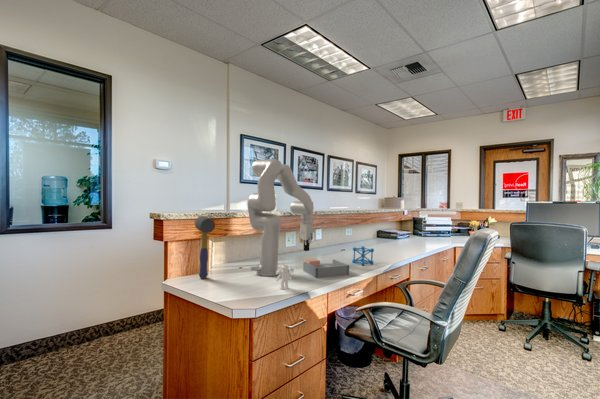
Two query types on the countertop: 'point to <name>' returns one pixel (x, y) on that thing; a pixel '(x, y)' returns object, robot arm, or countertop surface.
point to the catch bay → (327, 269)
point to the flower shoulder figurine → (284, 275)
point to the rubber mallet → (204, 242)
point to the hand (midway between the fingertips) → (306, 250)
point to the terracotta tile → (313, 262)
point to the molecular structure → (363, 255)
